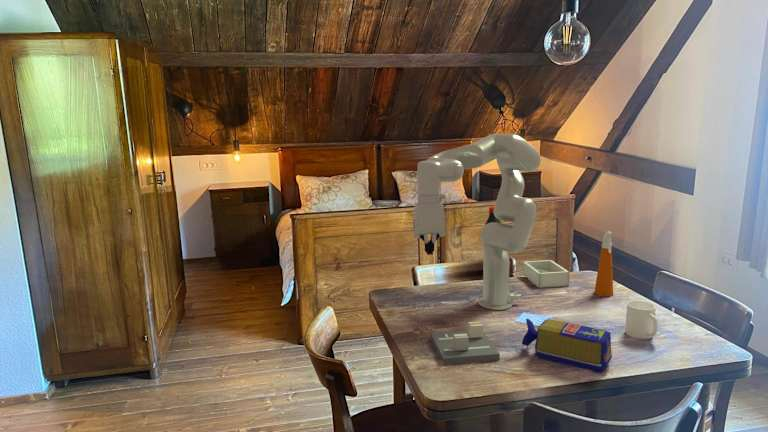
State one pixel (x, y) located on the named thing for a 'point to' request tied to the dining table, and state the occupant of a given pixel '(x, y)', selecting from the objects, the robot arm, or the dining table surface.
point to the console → (477, 350)
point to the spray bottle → (605, 268)
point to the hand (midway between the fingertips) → (429, 253)
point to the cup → (641, 320)
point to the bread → (570, 344)
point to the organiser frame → (549, 279)
